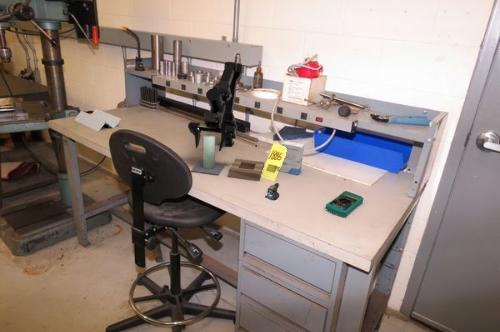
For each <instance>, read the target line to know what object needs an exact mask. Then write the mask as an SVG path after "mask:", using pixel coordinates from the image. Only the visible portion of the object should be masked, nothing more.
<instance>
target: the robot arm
mask: <svg viewBox="0 0 500 332" xmlns="http://www.w3.org/2000/svg"><path fill="white" fill-rule="evenodd" d="M223 67H224V68H223V70H222V71H223V72H222V74H221V76H220V80H219V82H217V83H216V84H214V85H213V86H212V88H210V89H208V90H207V91H206V92H205V98H206V100H207V103H208V106H209V109H210V110H209V112H204V114H203V122H204V125H205V126H204V125H201V124H200V122H198V121H190V122H188V125H187V128H188V130H189V133H190V134H192V135H193V136H194V140H195V141H194V142H195V149H198V148H199V145H200V140H201V137H202V136H201V133H202V132H207V133H217V134H220V141H219V143H218V146H219V147H218V151H219V152H221V151H222V149H223V148H224V147H231V148H232V147H233V145H234V144H235V141H234V140H235V139H236V138H237V134H238V124H237V121H236V117H235V115H234V108H235V102H236V94H237V87H238V83H239V82H240V81H241V80H242V77H243V74H244V72H245V66H244V65H243V64H242V63H241V62H236V61H225V62H224V65H223Z"/></svg>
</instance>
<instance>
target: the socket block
mask: <svg viewBox="0 0 500 332" xmlns="http://www.w3.org/2000/svg"><path fill="white" fill-rule="evenodd" d="M263 168H264V169H265V161H259V160H249V159H242V158H235V159H234V161H233V162H232V164H231V165H230V167H229V169H228V178H232V179H233V178H234V179H239V180H240V179H242V180H247V181H255V182H260V181H261V178H262V176H261V174H262V175H263V173H262V170H263ZM263 171H264V170H263Z"/></svg>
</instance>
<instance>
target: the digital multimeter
mask: <svg viewBox="0 0 500 332" xmlns="http://www.w3.org/2000/svg"><path fill="white" fill-rule="evenodd" d="M363 202H364V197H363V196H361V195H359V194H357V193H354V192H351V191H347V190H344V191H343V192H342V193H341V194H339V195H338V196H336V197H335V198H334V199H331V200H330V201H329V202H328V203H326V204H325V208H324V209H327V210H328V211H327V210H326V211H327V212H329V211H330V212H329V213H331V212H332V213H331V214H333V213H334V214H333V215H335V214H337V215H336V216H338V215H341V216H344V217H345V218H347V217H348V216H349V214H350V213H352V212H353V211H354V210H355V209H357V208H358V207H359V206H360V205H362V204H363ZM357 206H358V207H357ZM352 210H353V211H352ZM351 211H352V212H351ZM341 216H340V217H341ZM344 217H343V218H344Z"/></svg>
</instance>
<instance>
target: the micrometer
mask: <svg viewBox="0 0 500 332" xmlns="http://www.w3.org/2000/svg"><path fill="white" fill-rule="evenodd" d="M279 187H280V183H279V182H276V183H274V184H271V185H270V186H269V187H268V188H267V195H265V196H264V197H265V198H266V199H269V200H271V201H276V200H278V198H279V197H280V193H279V192H278V189H279Z"/></svg>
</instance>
